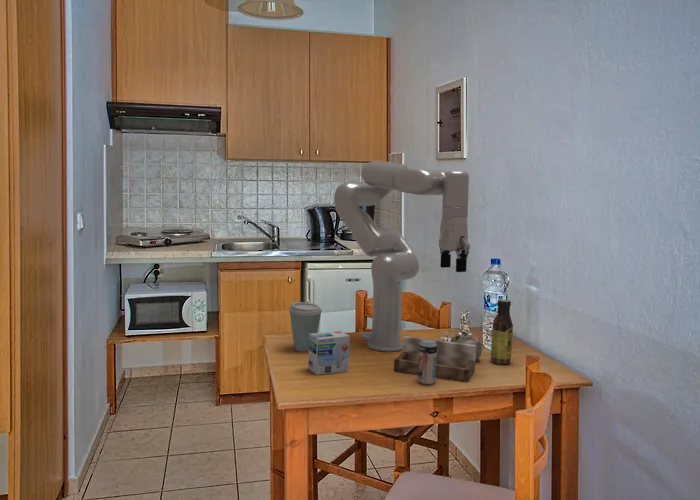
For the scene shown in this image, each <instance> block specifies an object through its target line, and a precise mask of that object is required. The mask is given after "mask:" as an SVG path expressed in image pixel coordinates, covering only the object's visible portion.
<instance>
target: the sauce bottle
mask: <svg viewBox="0 0 700 500" xmlns="http://www.w3.org/2000/svg"><path fill="white" fill-rule="evenodd" d="M511 301H512V300H511V299H503V298H501V299H497V301H496V302H497V312H496V313H497V314H496V315H495V317H494V319H493V320H492V331H491V345H490V346H491V348H490V350H491V351H490V356H491V358H490V361H491V362H492V363H494V364H497V365H508V364H510V363H511V360H512V352H513V349H512V347H513V334H514V333H513V332H514V331H513V330H514V323H513V321H512V317H511V313H510V312H511V311H510V310H511V305H512V304H511V303H512V302H511Z"/></svg>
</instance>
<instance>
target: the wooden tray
mask: <svg viewBox="0 0 700 500" xmlns="http://www.w3.org/2000/svg"><path fill="white" fill-rule="evenodd" d="M424 339H425V338H423V337H417V336H416V337H415V336H407V335H404V336H403V343H404V345H403V349H402V352H401V353H400V354H398V356H396V358H395V359H394V361H393V363H394V365H393V372H394V373H395V372H398V373H403V374H409V375H410V374H411V375H417V376H418V371H419V350H420V343H421V340H424ZM429 339H430V338H429ZM430 340H432V339H430ZM433 340H434V341H435V342H436V344H437V355H436V374H435V379H436V378H439V379H444V380H450V379H453V380H452V381H457V380H461V381H460V382H464V381H469V382H470V380H471V378H472V377H471V376H473V375H474V373H475V372H474V371H476V361H475V359H476V345H471V344H463V343H455V342H450V341H446V340H437V339H433ZM472 374H473V375H472Z"/></svg>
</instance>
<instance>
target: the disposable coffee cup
mask: <svg viewBox="0 0 700 500" xmlns="http://www.w3.org/2000/svg"><path fill="white" fill-rule="evenodd" d="M288 312H289V315H290V316H289V317H290V318H289V319H290V326H291V332H292V340H293V347H294V348H295V351H298V352H303V353H307V352H308V353H309V334H311V333H319V326H320V321H321V315H322V314H321V313H323V311H322V308H321V307H320V306H319V305H318V304H316V303H312V302H306V301H305V302H304V301H303V302H302V301H296V302H295V301H294V302H292V303H291V304H290V307H289V309H288Z"/></svg>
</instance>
